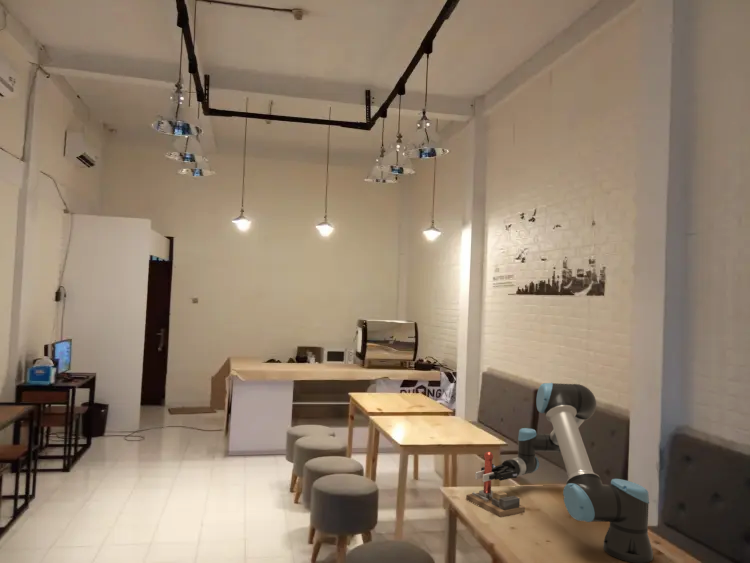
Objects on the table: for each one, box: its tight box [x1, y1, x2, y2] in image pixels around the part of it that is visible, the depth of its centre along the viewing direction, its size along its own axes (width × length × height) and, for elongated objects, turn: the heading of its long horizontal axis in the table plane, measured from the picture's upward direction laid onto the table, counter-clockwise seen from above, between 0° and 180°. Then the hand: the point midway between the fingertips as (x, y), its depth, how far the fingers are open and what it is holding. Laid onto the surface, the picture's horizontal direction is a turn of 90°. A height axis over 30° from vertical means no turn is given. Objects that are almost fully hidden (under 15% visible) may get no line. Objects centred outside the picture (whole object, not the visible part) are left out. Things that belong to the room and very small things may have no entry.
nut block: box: [492, 490, 508, 500], centre depth 219 cm, size 4×4×4 cm
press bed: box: [465, 491, 526, 518], centre depth 221 cm, size 20×13×6 cm, turn 31°
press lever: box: [478, 451, 494, 500], centre depth 224 cm, size 7×5×18 cm
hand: (479, 477), depth 222 cm, fingers closed on press lever, 3 cm apart
